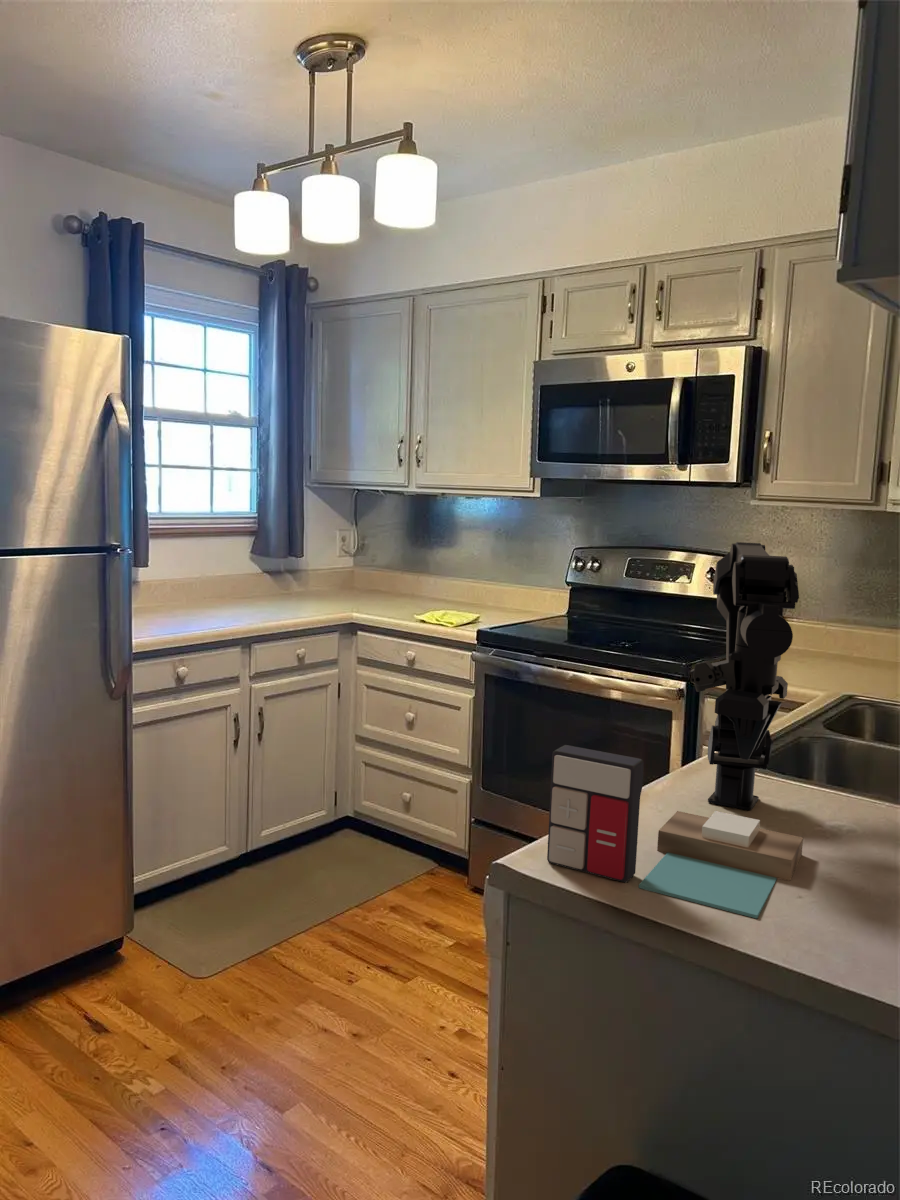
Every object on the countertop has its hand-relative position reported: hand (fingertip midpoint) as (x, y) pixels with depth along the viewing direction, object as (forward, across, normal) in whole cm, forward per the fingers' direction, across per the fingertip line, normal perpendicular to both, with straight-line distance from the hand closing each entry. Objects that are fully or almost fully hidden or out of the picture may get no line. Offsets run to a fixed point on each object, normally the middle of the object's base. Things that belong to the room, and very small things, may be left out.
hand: (748, 754), depth 125 cm
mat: (+12, +19, 0) cm, 22 cm away
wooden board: (+12, +8, 0) cm, 14 cm away
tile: (+8, +8, 0) cm, 11 cm away
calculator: (+12, +23, -14) cm, 30 cm away
